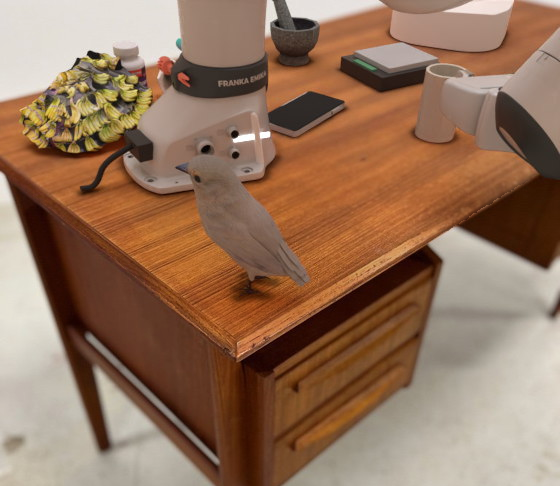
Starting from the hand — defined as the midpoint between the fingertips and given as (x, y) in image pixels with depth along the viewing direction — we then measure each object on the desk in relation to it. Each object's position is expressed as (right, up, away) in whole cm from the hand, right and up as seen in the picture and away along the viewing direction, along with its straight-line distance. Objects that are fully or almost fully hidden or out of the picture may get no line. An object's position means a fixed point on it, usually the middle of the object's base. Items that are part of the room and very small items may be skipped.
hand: (494, 73), depth 74 cm
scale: (-6, +16, +38) cm, 42 cm away
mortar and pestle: (-25, +21, +43) cm, 55 cm away
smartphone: (-24, +2, +23) cm, 33 cm away
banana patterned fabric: (-57, 0, +16) cm, 59 cm away
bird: (-31, -28, -11) cm, 43 cm away
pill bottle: (-53, +5, +25) cm, 59 cm away
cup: (-3, -2, +18) cm, 18 cm away
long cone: (-48, +21, +40) cm, 66 cm away
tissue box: (+11, +35, +59) cm, 69 cm away
